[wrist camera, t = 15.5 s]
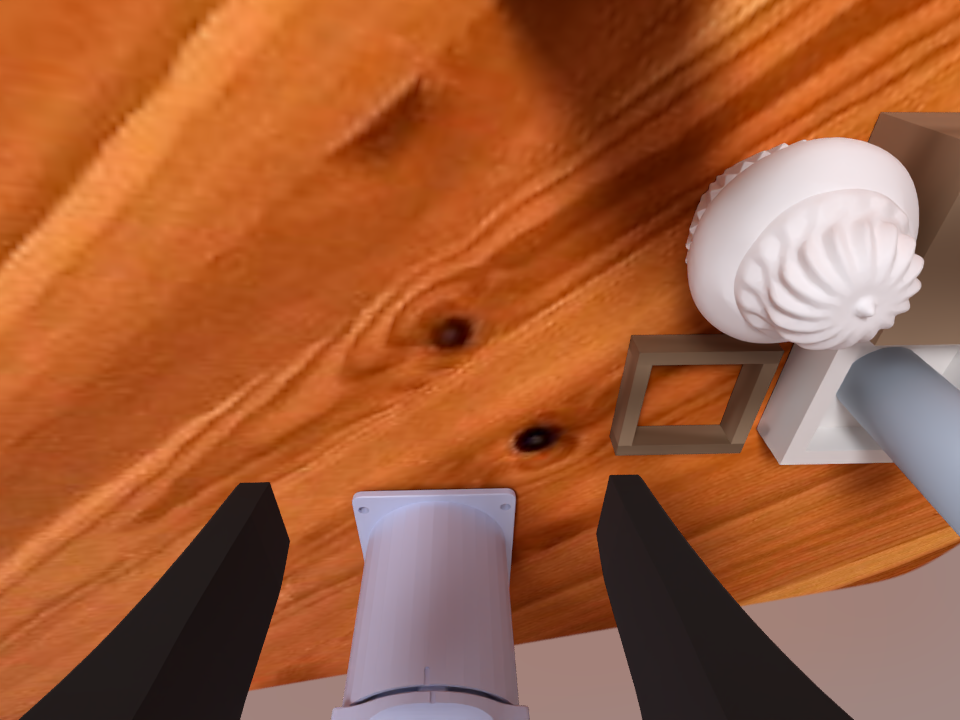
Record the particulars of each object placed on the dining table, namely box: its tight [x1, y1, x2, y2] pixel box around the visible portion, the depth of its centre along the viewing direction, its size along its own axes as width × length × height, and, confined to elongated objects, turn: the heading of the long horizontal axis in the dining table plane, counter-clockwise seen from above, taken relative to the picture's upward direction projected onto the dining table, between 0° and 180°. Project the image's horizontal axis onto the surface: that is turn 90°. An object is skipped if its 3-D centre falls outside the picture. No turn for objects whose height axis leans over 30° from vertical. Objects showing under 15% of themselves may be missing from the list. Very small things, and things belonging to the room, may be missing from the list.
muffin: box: [686, 137, 924, 350], centre depth 15 cm, size 6×6×7 cm
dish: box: [757, 341, 960, 465], centre depth 21 cm, size 7×7×2 cm
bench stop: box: [868, 112, 960, 346], centre depth 17 cm, size 6×3×4 cm, turn 0°
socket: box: [610, 334, 784, 455], centre depth 22 cm, size 6×6×1 cm
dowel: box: [836, 347, 960, 536], centre depth 19 cm, size 3×3×7 cm
